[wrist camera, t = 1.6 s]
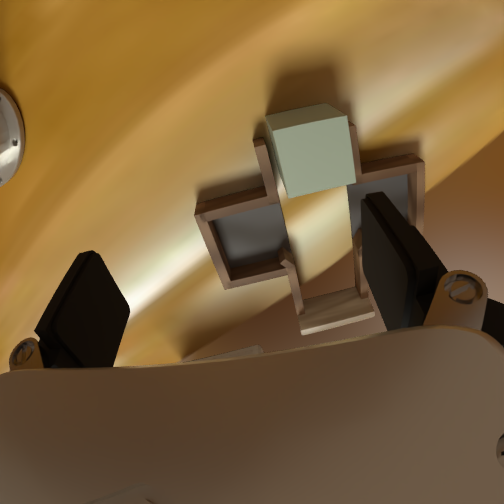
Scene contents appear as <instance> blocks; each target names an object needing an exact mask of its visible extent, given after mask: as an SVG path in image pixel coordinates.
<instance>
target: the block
mask: <svg viewBox="0 0 504 504" xmlns="http://www.w3.org/2000/svg"><path fill="white" fill-rule="evenodd" d="M265 118H266V122H267V126H268V130H269V133H270V137H271V141H272V145H273V149H274V153H275V157H276V161H277V165H278V169H279V173H280V176H281V179H282V181H283V184H284V187H285V190H286V192H287V195H288V198H292V197H297V196H301V195H305V194H309V193H313V192H318V191H322V190H326V189H331V188H335V187H339V186H344V185H348V184H353V183H356V178H355V169H354V161H353V153H352V146H351V139H350V132H349V126H348V120H347V115H345V114H344V113H342V112H340V111H339V110H337V109H336V108H334V107H332V106H331V105H329V104H327V103H324V104H318V105H313V106H308V107H303V108H298V109H294V110H289V111H285V112H280V113H276V114H272V115H267V116H265Z"/></svg>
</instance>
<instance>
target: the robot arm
mask: <svg viewBox="0 0 504 504" xmlns="http://www.w3.org/2000/svg"><path fill="white" fill-rule="evenodd" d="M24 145H25V136H24V127H23V121H22V118H21V115H20V112H19V110H18V108H17V106H16V103H15V102H14V101H13V99H12V98H11V96H10V95H9V94H7V93H6V92H5V91H4V90H3V89H1V88H0V186H2V185H4V184H5V183H6V182H8V181H9V180H10V179H11V178H12V177H13V176H14V174H15V173H16V172H17V170H18V168H19V166H20V164H21V161H22V157H23V153H24ZM360 205H361V230H362V267H363V272H364V275H365V277H366V280H367V282H368V284H369V287H370V289H371V291H372V294H373V296H374V299H375V301H376V303H377V306H378V308H379V310H380V313H381V316H382V318H383V321H384V323H385V326H386V328H387V331H386V332H381V333H375V334H370V335H364V336H359V337H354V338H350V339H344V340H339V341H334V342H329V343H323V344H316V345H311V346H305V347H299V348H294V349H288V350H281V351H275V352H269V353H261V354H254V355H246V356H238V357H230V358H222V359H213V360H204V361H194V362H183V363H171V364H158V365H143V366H126V367H113V365H114V362H115V358H116V355H117V352H118V349H119V345H120V342H121V339H122V336H123V333H124V330H125V327H126V324H127V321H128V318H129V315H130V308H129V305H128V303H127V301H126V300H125V298H124V296H123V295H122V293H121V291H120V290H119V288H118V286H117V284H116V283H115V281H114V279H113V277H112V276H111V274H110V272H109V270H108V269H107V267H106V265H105V263H104V261H103V260H102V258H101V256H100V255H99V254H98V253H96V252H95V251H93V250H91V251H87V252H83V253H79V254H78V256H77V257H76V259H75V260H74V262H73V263H72V265H71V267H70V268H69V270H68V272H67V273H66V275H65V276H64V278H63V280H62V281H61V283H60V285H59V287H58V288H57V290H56V292H55V293H54V295H53V297H52V299H51V300H50V302H49V304H48V306H47V308H46V309H45V311H44V313H43V315H42V317H41V319H40V321H39V322H38V324H37V326H36V328H35V330H34V331H35V333H36V334H37V335H38V336H39V338H40V340H39V342H38V341H37V340H36V339H35V338H26V339H24V340H23V341H21V342H20V343H19V344H18V345H17V346H16V347H15V348H14V349H13V351H12V353H11V355H10V358H9V366H10V371H9V372H6V373H3V374H1V375H0V504H504V304H502V303H500V302H497V301H494V300H492V299H489V298H488V289H487V287H486V284H485V283H484V282H483V280H482V279H481V278H480V277H478V276H477V275H475V274H473V273H471V272H468V271H463V270H454V271H451V272H448V271H447V269H446V268H445V266H444V265H443V263H442V262H441V261H440V259H439V258H438V256H437V255H436V254H435V252H434V251H433V249H432V248H431V247H430V245H429V244H428V243H427V241H426V240H425V239H424V237H423V236H422V235H421V233H420V232H419V231H418V229H417V228H416V227H415V226H413V225H409V223H408V222H407V221H406V220H405V218H404V217H403V216H402V214H401V213H400V212H399V211H398V209H397V208H396V207H395V206H394V204H393V203H392V202H391V201H390V199H389V198H388V197H387V196H386V194H385V193H384V192H383V191H381V192H374V193H368V194H366V196H365V199H361V202H360Z"/></svg>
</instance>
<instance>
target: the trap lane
mask: <svg viewBox="0 0 504 504" xmlns="http://www.w3.org/2000/svg"><path fill="white" fill-rule="evenodd" d="M348 126H349V132H350V139H351V146H352V153H353V161H354V169H355V178H356V183H353V184H348V185H347V193H348V201H349V210H350V220H351V231H352V242H353V255H354V269H355V287H352V288H348V289H344V290H340V291H337V292H333V293H329V294H325V295H321V296H317V297H313V298H309V299H305V300H302V296H301V292H300V287H299V283H298V278H297V273H296V269H295V263H294V259H293V256H292V253H291V249H290V245H289V240H288V236H287V232H286V228H285V223H284V219H283V215H282V211H281V207H280V200H279V196H278V192H277V188H276V184H275V180H274V176H273V172H272V168H271V164H270V160H269V156H268V152H267V148H266V145H265V142H264V139H263V137H262V138H258V139H254V140H253V143H254V148H255V151H256V155H257V159H258V162H259V166H260V170H261V173H262V177H263V181H264V185H265V186H261V187H257V188H253V189H250V190H246V191H242V192H238V193H234V194H231V195H227V196H223V197H220V198H216V199H212V200H209V201H205V202H202V203H198V204H196V208H195V214H194V217H195V219H196V222H197V224H198V227H199V229H200V232H201V234H202V236H203V239H204V241H205V244H206V246H207V249H208V251H209V253H210V256H211V258H212V261H213V263H214V265H215V268H216V270H217V273H218V275H219V277H220V280H221V282H222V284H223V287H224V289H225V290H226V289H230V288H235V287H239V286H243V285H248V284H252V283H256V282H260V281H265V280H269V279H273V278H277V277H281V276H285V275H288V278H289V283H290V287H291V291H292V294H293V299H294V303H295V307H296V311H297V315H298V320H299V325H300V329H301V334H302V335H306V334H310V333H314V332H318V331H323V330H327V329H330V328H334V327H338V326H342V325H346V324H349V323H353V322H357V321H360V320H364V319H367V318H371V317H374V314H375V311H374V309H373V306H372V304H371V302H370V300H369V298H368V282H367V280H366V277H365V275H364V272H363V267H362V230H361V205H360V202H361V199H365V196H366V194H368V193H374V192H381V191H383V192H384V193H385V194H386V196H387V197H388V198H389V199H390V201H391V202H392V203H393V204H394V206H395V207H396V208H397V209H398V211H399V212H400V213H401V214H402V216H403V217H404V218H405V220H406V221H407V222H408V223H409V225H413V226H415V227H416V228H417V229H418V231H419V232H420V233H421V235H422V236H423V222H424V197H425V162H424V161H423V160H422V159H420V158H419V157H418V156H416V155H415V154H408V155H402V156H397V157H392V158H386V159H381V160H376V161H371V162H366V163H361V164H360V155H359V147H358V140H357V132H356V126H355V125H354V124H353V123H351V122H350V121H348Z"/></svg>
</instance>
